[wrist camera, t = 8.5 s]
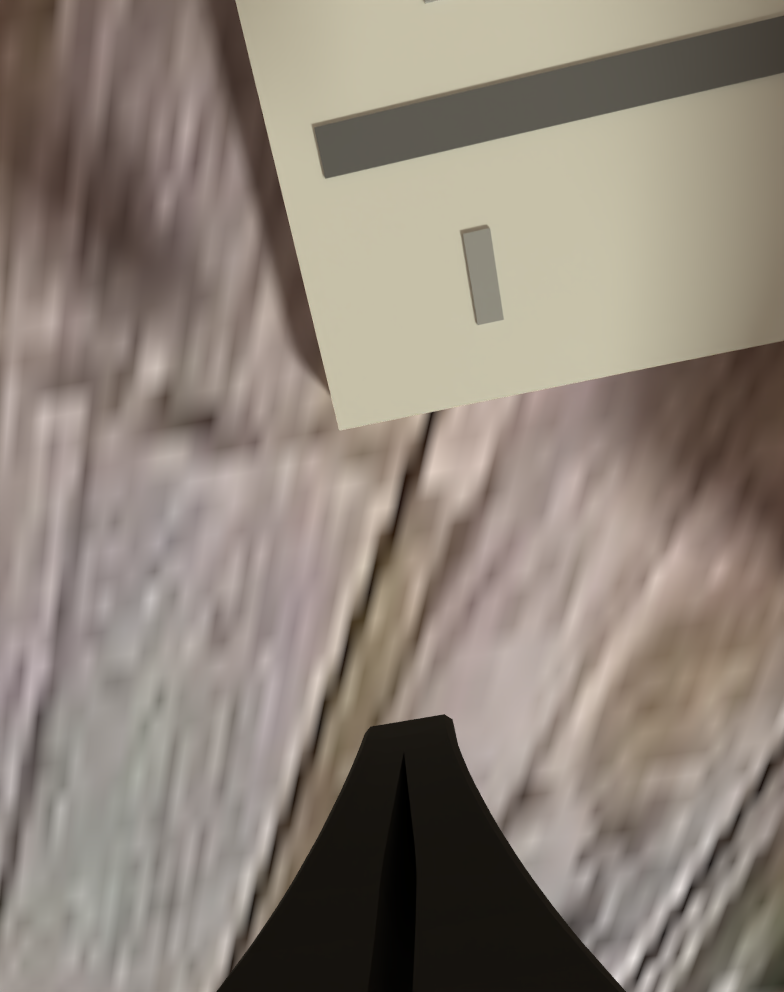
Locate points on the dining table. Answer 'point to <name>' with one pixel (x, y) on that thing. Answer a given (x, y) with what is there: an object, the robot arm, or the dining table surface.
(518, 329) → the fader console
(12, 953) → the dining table surface
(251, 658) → the dining table surface
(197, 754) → the dining table surface
